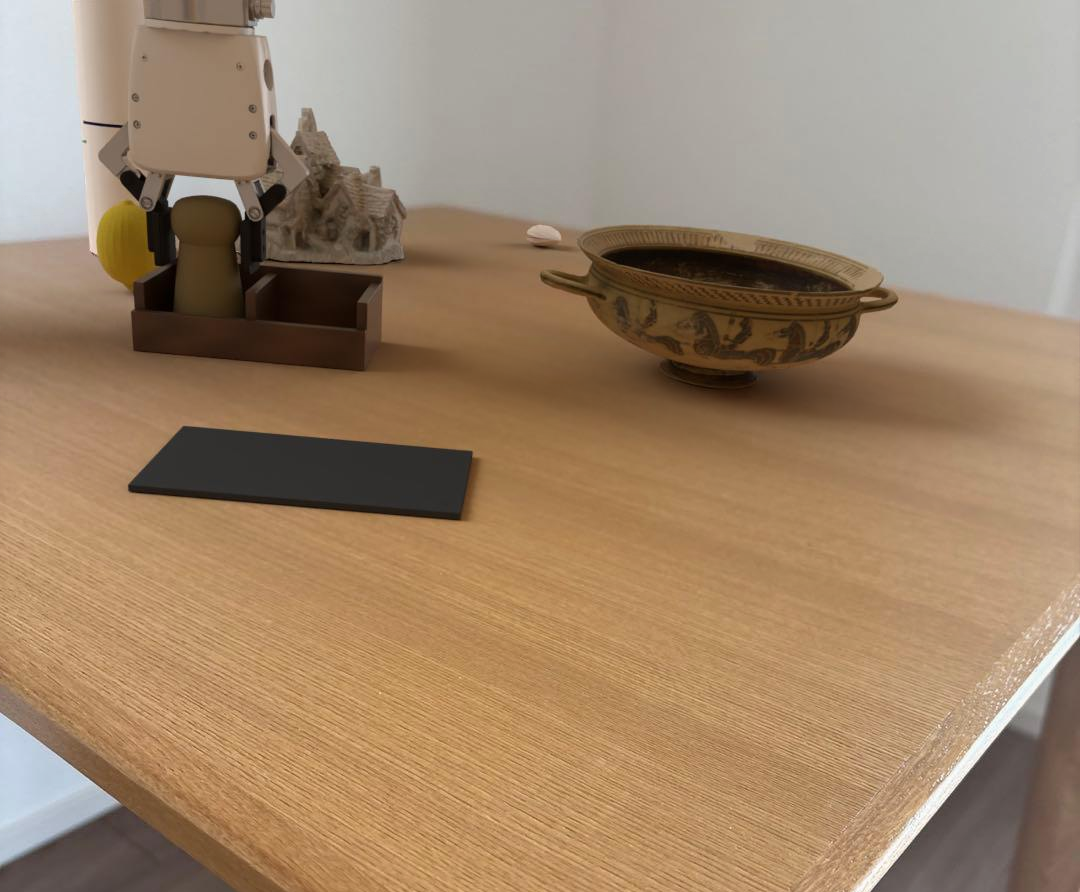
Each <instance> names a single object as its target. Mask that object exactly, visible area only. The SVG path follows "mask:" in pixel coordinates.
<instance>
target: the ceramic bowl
mask: <svg viewBox="0 0 1080 892" xmlns="http://www.w3.org/2000/svg"><path fill="white" fill-rule="evenodd" d="M576 240H577V241H576V243H577V245H578V247H579V248H580V251H582V253H583V254H584V255H585V256H586V257H587V258H588V259H589V260H590V261H591V264H590V266H589V268H588V272H587V274H584V275H576V274H571V273H567V272H565V271H560V270H555V269H548V268H547V269H545V268H543V269H542V270H541V271H540V273H539V275H540V276H539V277H540V281H541V282H542V283H543V284H544V285H547V286H549V287H551V288H553V289H556V290H560V291H563V292H567V293H570V294H572V295H576V296H580V297H584V298H586V301H587V304H588V306H589V308H590V309H591V311H592V313H593V315H595V317H596V318H597V319H598V320H599V321H600V322H601V323H602V324H603V325H604V326H605V327H606V328H607V329H608V330H609V331H611V332H612V333H613V334H615V335H616V336H618V337H619V338H621V339H623V340H625V342H628V343H630V344H632V345H633V346H634V347H635V346H636V347H637V348H639V349H641V350H643V351H646V352H648V353H650V354H653V355H656V356H658V357H661V358H664V359H663V360H661V361H660V362H659V366H658V367H659V369H660V371H661V372H662V373H663V374H664V375H666V376H667V377H669V378H671V379H675V380H677V381H680V382H683V383H687V384H690V385H694V386H699V387H704V388H713V389H728V390H729V389H730V390H731V389H732V390H733V389H741V388H748V387H750V386H753V385H755V384H756V383H757V382H758V374H757V373H756V372H758V371H772V370H780V369H781V370H782V369H788V368H793V367H798V366H802V365H806V364H810V363H814V362H818V361H820V360H822V359H824V358H827V357H829V356H831V355H832V354H834V353H836V352H838V351H839V350H841V349H842V348H844V347H845V346H846V345H847V344H848V343H849V342H851V340H852V339H853V338H854V336H855V335H856V333H857V331H858V328H859V326H860V322H861V317H862V315H864V314H869V313H878V312H882V311H886V310H889V309H892V308H893V307H894V306H895V305H896V304H898V303H899V296H898V295H897V293H896V292H895V291H894V290H893V289H890V288H887V287H883V286H882V287H881V285H882V283H883V281H884V279H885V278H884V275H883V273H882V272H880V270H878V269H877V268H875V267H872V266H870V265H868V264H865V263H863V262H861V261H858V260H856V259H853V258H850V257H848V256H845V255H842V254H840V253H836V252H833V251H828V250H825V249H821V248H818V247H815V246H811V245H806V244H802V243H798V242H797V243H796V242H793V241H789V240H788V241H787V240H782V239H777V238H773V237H767V236H761V235H756V234H748V233H742V232H736V231H730V230H729V231H728V230H720V229H710V228H700V227H692V226H681V225H665V224H664V225H663V224H619V225H608V226H603V227H597V228H593V229H590V230H587V231H584V232H582V233H581V234H580V235H578V237H577V239H576ZM863 298H875V300H869V301H861V299H863Z"/></svg>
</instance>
